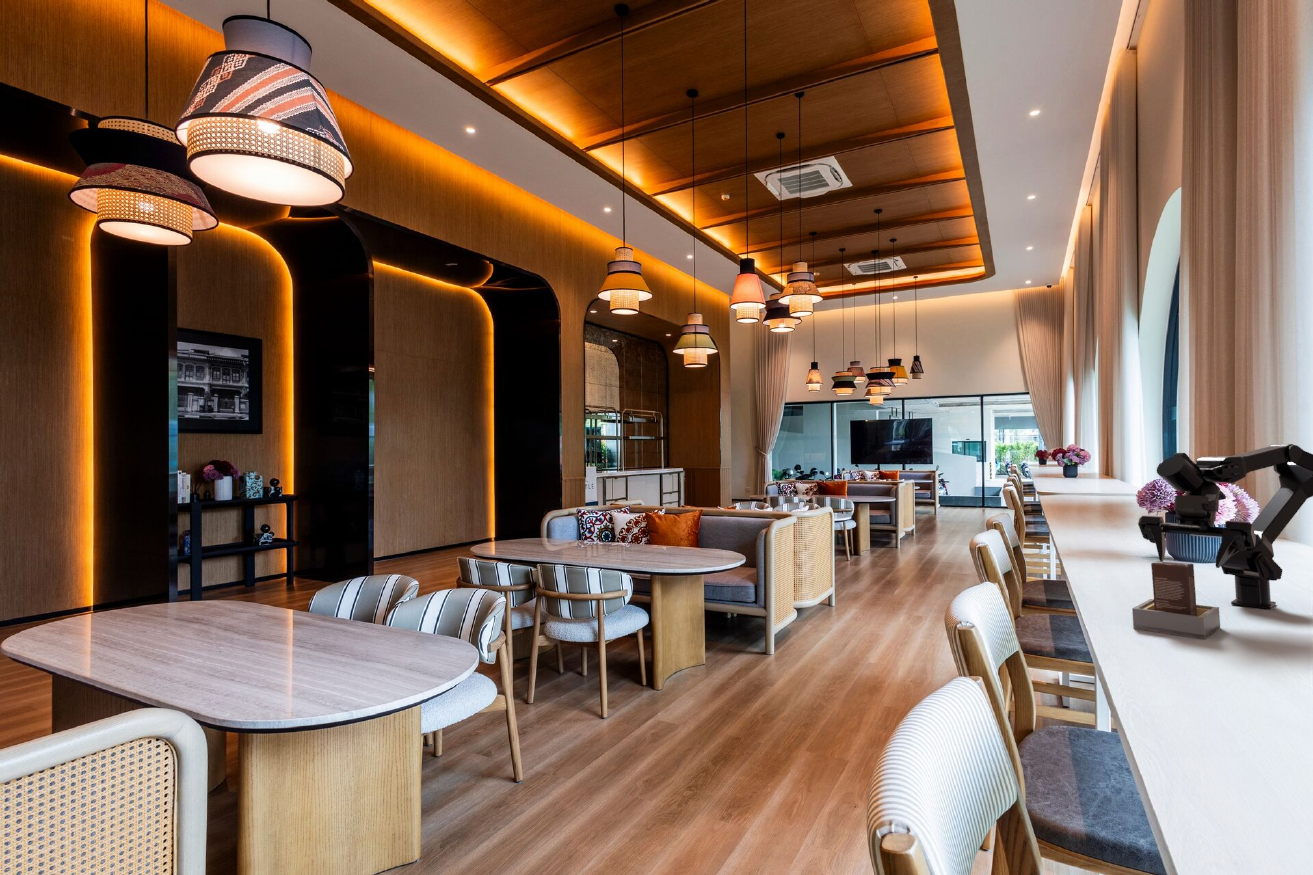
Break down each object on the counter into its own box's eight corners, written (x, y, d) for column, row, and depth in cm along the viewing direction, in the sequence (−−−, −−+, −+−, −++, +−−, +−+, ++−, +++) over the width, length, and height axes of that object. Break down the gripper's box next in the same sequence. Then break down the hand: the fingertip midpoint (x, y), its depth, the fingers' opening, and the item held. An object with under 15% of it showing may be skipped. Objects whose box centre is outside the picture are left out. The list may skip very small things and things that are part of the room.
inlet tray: (1151, 618, 139) (1150, 598, 139) (1220, 627, 130) (1219, 607, 130) (1133, 628, 132) (1132, 608, 132) (1204, 639, 123) (1203, 617, 123)
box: (1198, 624, 130) (1194, 563, 130) (1191, 628, 127) (1187, 566, 127) (1161, 619, 135) (1157, 559, 135) (1153, 623, 132) (1150, 562, 132)
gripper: (1139, 479, 147) (1124, 535, 140) (1251, 482, 132) (1241, 544, 125) (1150, 510, 152) (1137, 566, 145) (1259, 516, 137) (1250, 579, 130)
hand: (1188, 563), depth 136 cm, fingers open, 9 cm apart
